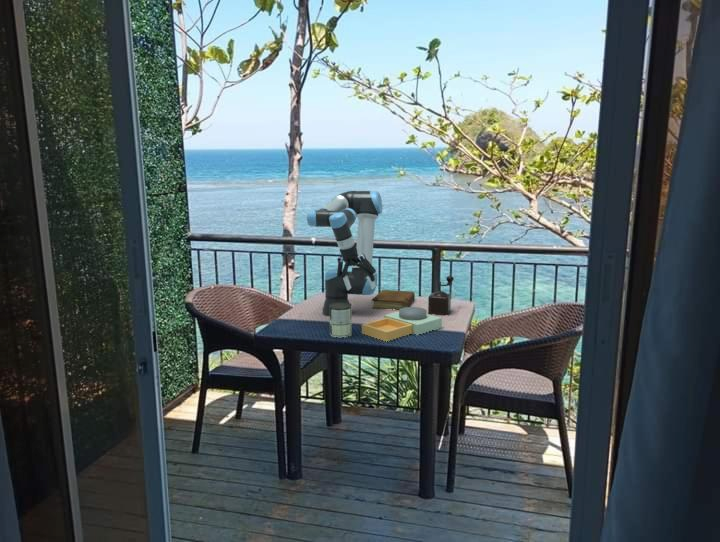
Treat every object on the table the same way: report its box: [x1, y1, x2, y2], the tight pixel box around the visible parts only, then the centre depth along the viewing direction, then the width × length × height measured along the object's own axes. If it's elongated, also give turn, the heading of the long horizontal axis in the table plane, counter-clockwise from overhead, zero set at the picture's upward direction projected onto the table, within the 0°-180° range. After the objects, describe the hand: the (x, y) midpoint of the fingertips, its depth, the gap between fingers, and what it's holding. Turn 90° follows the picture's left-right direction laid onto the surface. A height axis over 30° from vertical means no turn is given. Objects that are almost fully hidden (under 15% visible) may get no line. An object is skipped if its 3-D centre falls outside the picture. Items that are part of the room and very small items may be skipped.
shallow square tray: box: [361, 317, 413, 343], centre depth 264 cm, size 16×16×4 cm
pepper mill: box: [427, 275, 455, 316], centre depth 300 cm, size 16×11×18 cm
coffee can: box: [329, 302, 353, 339], centre depth 263 cm, size 10×10×14 cm
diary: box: [371, 289, 416, 311], centre depth 316 cm, size 23×19×6 cm
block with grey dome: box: [383, 306, 443, 336], centre depth 274 cm, size 22×17×8 cm
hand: (361, 288), depth 264 cm, fingers open, 13 cm apart
